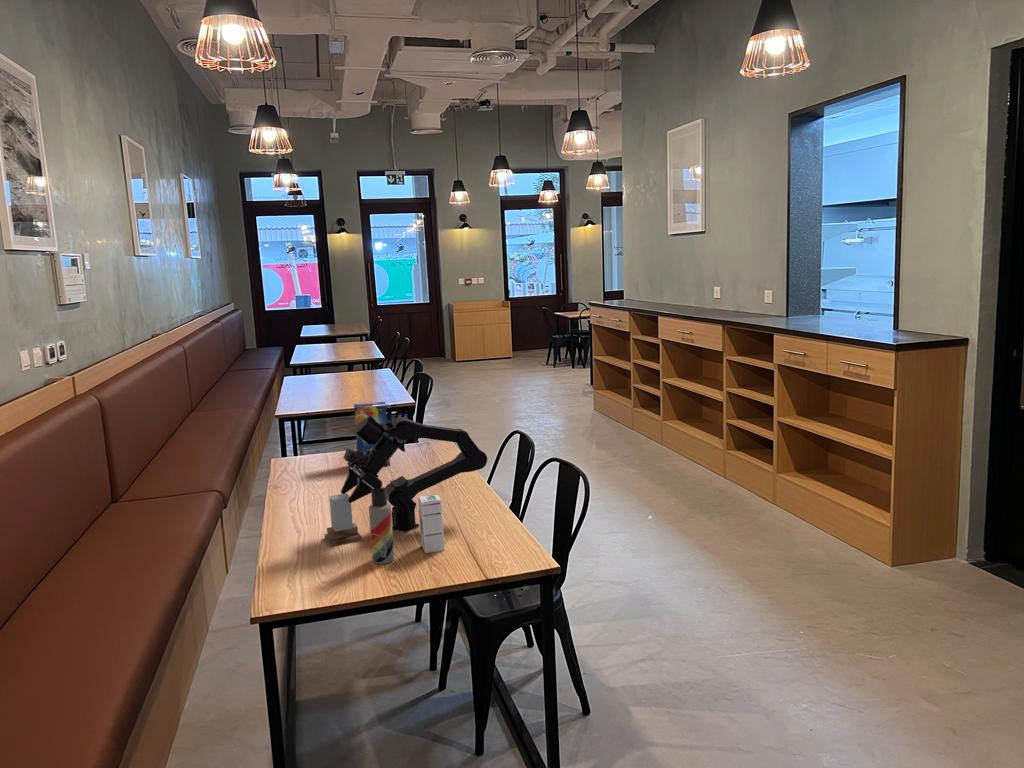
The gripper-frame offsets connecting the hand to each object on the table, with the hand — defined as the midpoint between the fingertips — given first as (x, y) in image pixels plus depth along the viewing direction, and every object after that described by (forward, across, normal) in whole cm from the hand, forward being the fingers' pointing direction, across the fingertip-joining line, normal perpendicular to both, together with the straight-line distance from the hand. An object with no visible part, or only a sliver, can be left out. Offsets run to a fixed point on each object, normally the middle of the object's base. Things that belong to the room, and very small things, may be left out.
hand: (345, 497), depth 213 cm
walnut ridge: (+10, 0, +8) cm, 12 cm away
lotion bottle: (+6, +21, +12) cm, 25 cm away
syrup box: (-4, +20, +22) cm, 30 cm away
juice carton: (-10, -74, +28) cm, 80 cm away
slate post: (+7, 0, +5) cm, 9 cm away
